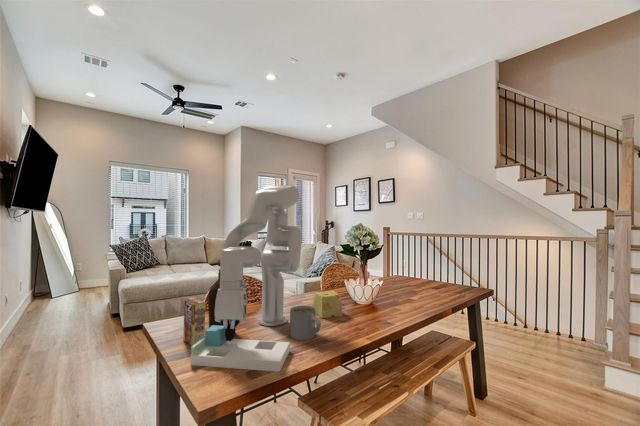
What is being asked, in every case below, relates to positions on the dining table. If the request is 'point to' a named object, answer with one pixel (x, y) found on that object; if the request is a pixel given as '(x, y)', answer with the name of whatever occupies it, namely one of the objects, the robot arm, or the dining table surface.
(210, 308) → the olive oil
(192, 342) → the candy box
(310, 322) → the coffee mug
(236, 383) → the dining table surface
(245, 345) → the white board with holes
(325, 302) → the cheese
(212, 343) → the block
